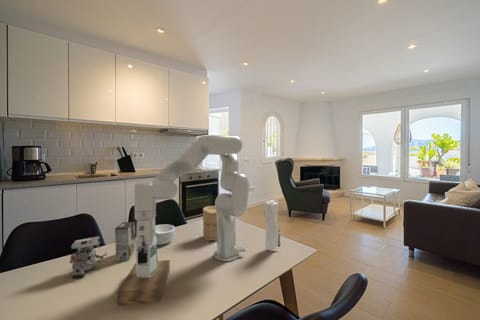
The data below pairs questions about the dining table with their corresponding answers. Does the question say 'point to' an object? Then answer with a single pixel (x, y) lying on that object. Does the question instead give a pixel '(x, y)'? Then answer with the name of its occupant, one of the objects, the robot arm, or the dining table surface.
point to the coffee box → (125, 241)
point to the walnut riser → (144, 286)
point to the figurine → (84, 255)
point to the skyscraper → (272, 225)
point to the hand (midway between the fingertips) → (146, 256)
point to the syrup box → (148, 260)
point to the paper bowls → (164, 233)
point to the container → (210, 223)
